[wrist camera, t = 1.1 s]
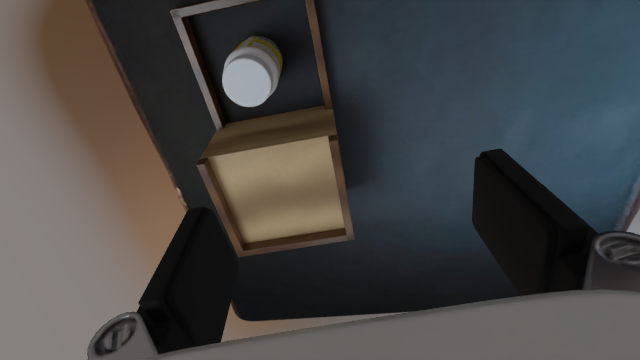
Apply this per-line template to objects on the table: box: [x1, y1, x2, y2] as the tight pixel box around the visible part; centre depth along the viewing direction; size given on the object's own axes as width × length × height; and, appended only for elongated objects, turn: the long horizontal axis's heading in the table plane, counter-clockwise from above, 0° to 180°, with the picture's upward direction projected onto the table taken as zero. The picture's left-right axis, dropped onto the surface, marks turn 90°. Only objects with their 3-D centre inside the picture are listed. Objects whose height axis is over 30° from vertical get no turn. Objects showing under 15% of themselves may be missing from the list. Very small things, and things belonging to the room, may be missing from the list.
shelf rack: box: [170, 0, 355, 257], centre depth 32 cm, size 24×13×9 cm, turn 11°
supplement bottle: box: [222, 36, 283, 107], centre depth 29 cm, size 5×5×8 cm
